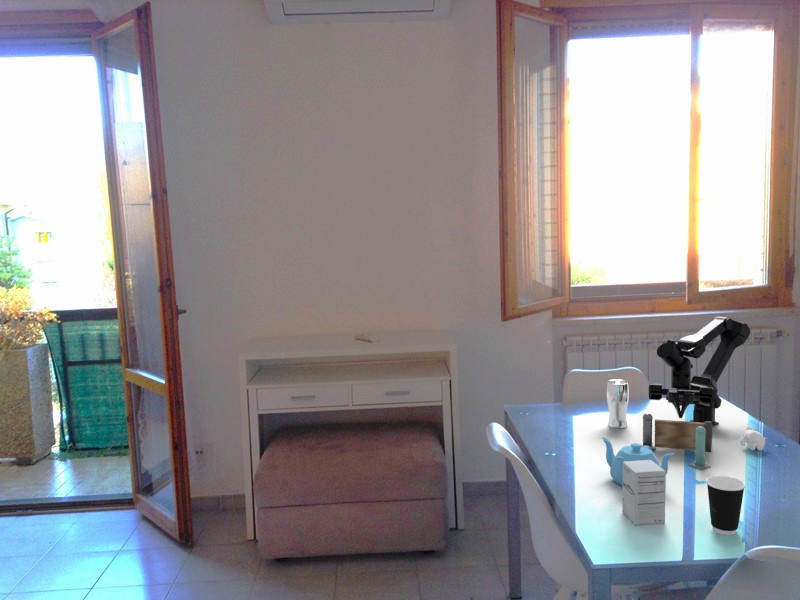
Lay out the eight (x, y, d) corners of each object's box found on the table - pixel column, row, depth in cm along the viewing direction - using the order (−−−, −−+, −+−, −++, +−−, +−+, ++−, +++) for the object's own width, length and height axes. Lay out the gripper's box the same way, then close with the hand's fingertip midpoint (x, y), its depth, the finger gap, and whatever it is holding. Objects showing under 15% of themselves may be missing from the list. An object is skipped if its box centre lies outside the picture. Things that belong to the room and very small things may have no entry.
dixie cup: (696, 527, 153) (697, 480, 152) (720, 519, 157) (721, 473, 155) (728, 541, 146) (729, 492, 145) (752, 532, 150) (753, 484, 149)
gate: (654, 448, 203) (654, 419, 202) (654, 446, 205) (654, 417, 204) (711, 453, 197) (712, 423, 196) (711, 450, 199) (712, 421, 198)
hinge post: (647, 445, 208) (647, 410, 207) (660, 450, 203) (660, 414, 202) (634, 448, 206) (635, 412, 205) (647, 453, 201) (647, 416, 200)
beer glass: (626, 422, 231) (626, 379, 229) (630, 429, 224) (631, 384, 222) (604, 422, 232) (604, 379, 230) (609, 429, 225) (609, 384, 223)
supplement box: (621, 512, 162) (621, 460, 161) (651, 510, 163) (652, 458, 161) (634, 526, 155) (634, 472, 153) (666, 523, 155) (666, 470, 154)
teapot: (655, 471, 187) (655, 435, 186) (675, 493, 172) (676, 453, 171) (601, 472, 188) (601, 436, 186) (617, 494, 173) (617, 455, 172)
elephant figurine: (735, 444, 206) (735, 425, 205) (764, 445, 204) (764, 426, 204) (741, 452, 199) (742, 432, 199) (771, 453, 198) (772, 433, 197)
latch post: (699, 462, 192) (700, 423, 191) (711, 467, 189) (711, 427, 187) (688, 465, 191) (689, 425, 189) (700, 469, 187) (701, 429, 186)
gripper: (711, 389, 219) (712, 433, 210) (649, 385, 226) (648, 427, 217) (713, 370, 211) (714, 415, 202) (649, 367, 218) (647, 410, 209)
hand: (680, 417), depth 208 cm, fingers closed
